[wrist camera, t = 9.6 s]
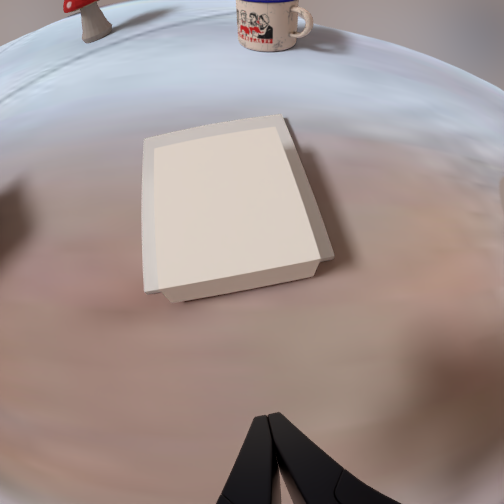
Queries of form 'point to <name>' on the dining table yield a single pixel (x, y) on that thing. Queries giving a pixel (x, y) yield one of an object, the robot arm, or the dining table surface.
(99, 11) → the decorative mushroom
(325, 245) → the mat
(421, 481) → the dining table surface
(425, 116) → the dining table surface
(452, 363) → the dining table surface
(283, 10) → the teacup with lid
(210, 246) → the beige rectangular block
